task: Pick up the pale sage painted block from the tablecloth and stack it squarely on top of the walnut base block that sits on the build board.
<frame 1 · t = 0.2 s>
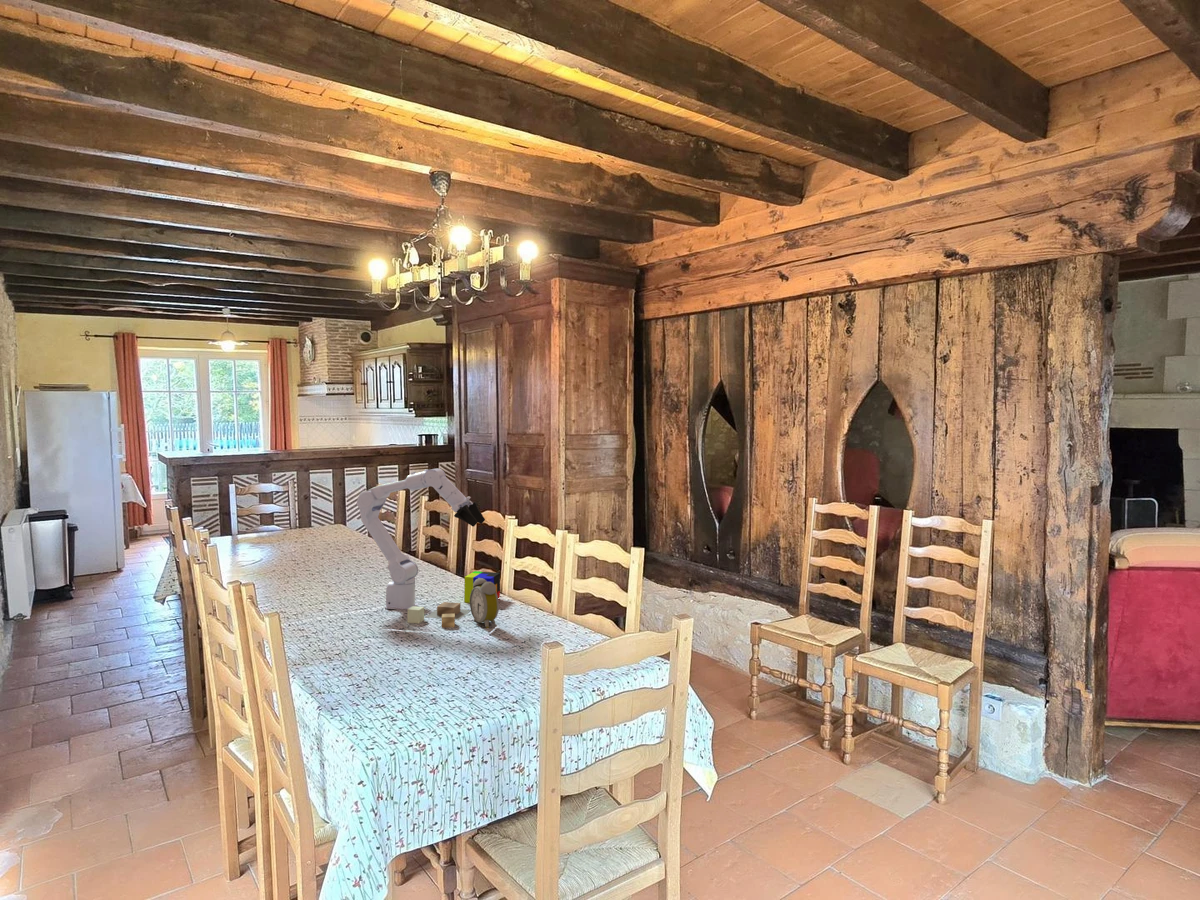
hand: (479, 523, 244), 31 cm above the table, tool tilted 45°, fingers open, 7 cm apart
ochre block: (448, 627, 228), on the table
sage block: (415, 623, 232), on the table
puzzle toy: (482, 602, 260), on the table
alarm clock: (486, 625, 231), on the table
base block: (448, 613, 241), point 1 cm above the table, touching build board
build board: (448, 615, 241), on the table
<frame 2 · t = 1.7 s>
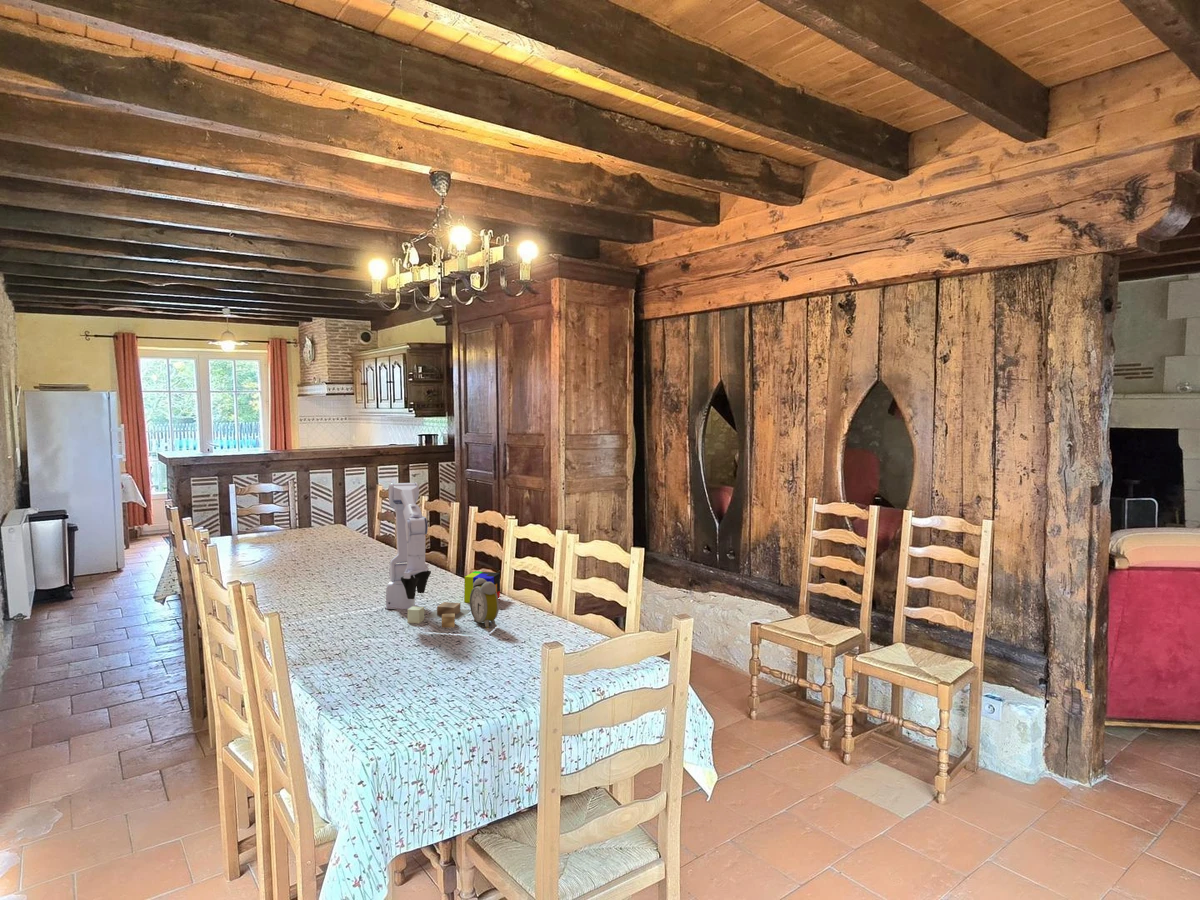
hand: (416, 595, 231), 9 cm above the table, tool pointing down, fingers open, 7 cm apart
nothing on the table moved.
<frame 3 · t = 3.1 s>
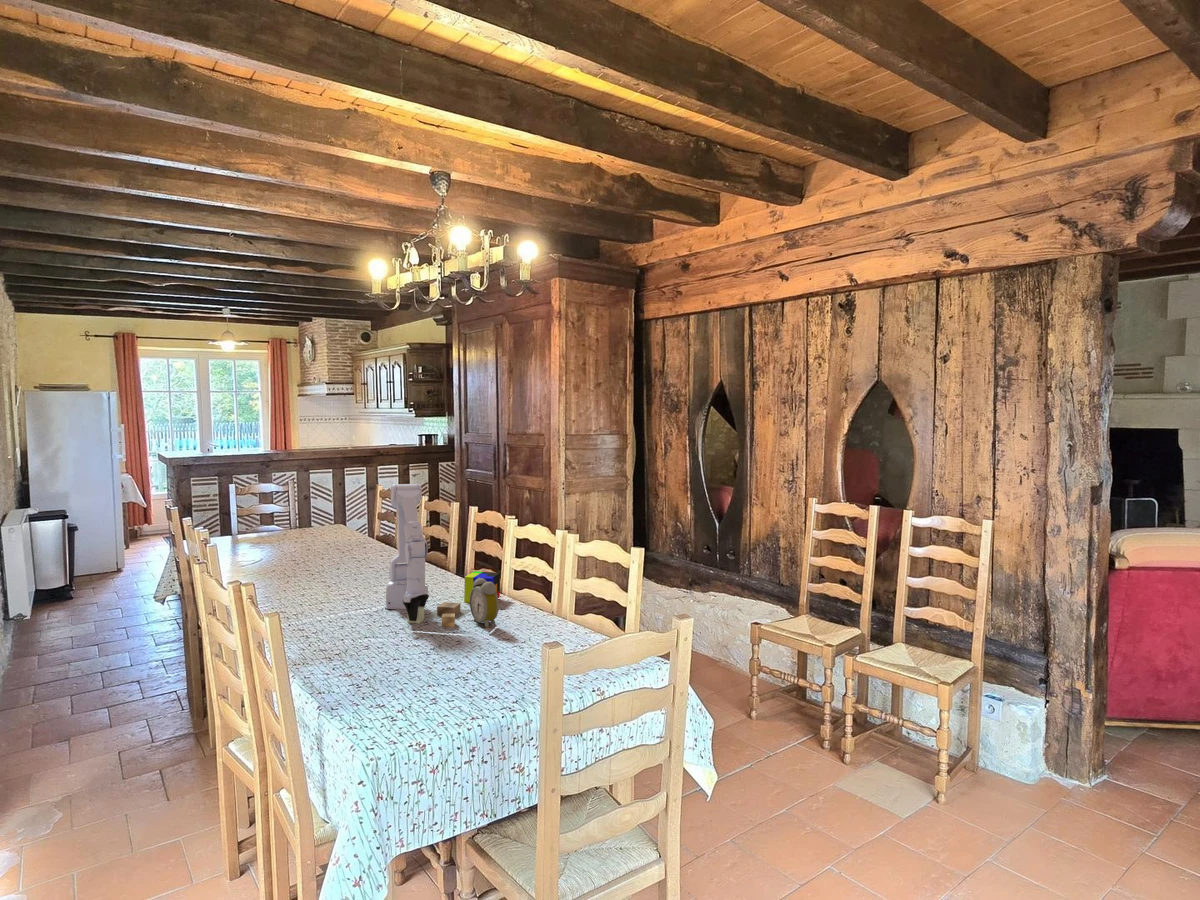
hand: (415, 618, 232), 1 cm above the table, tool pointing down, fingers closed on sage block, 4 cm apart
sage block: (415, 623, 232), on the table, touching gripper
everything else where it was.
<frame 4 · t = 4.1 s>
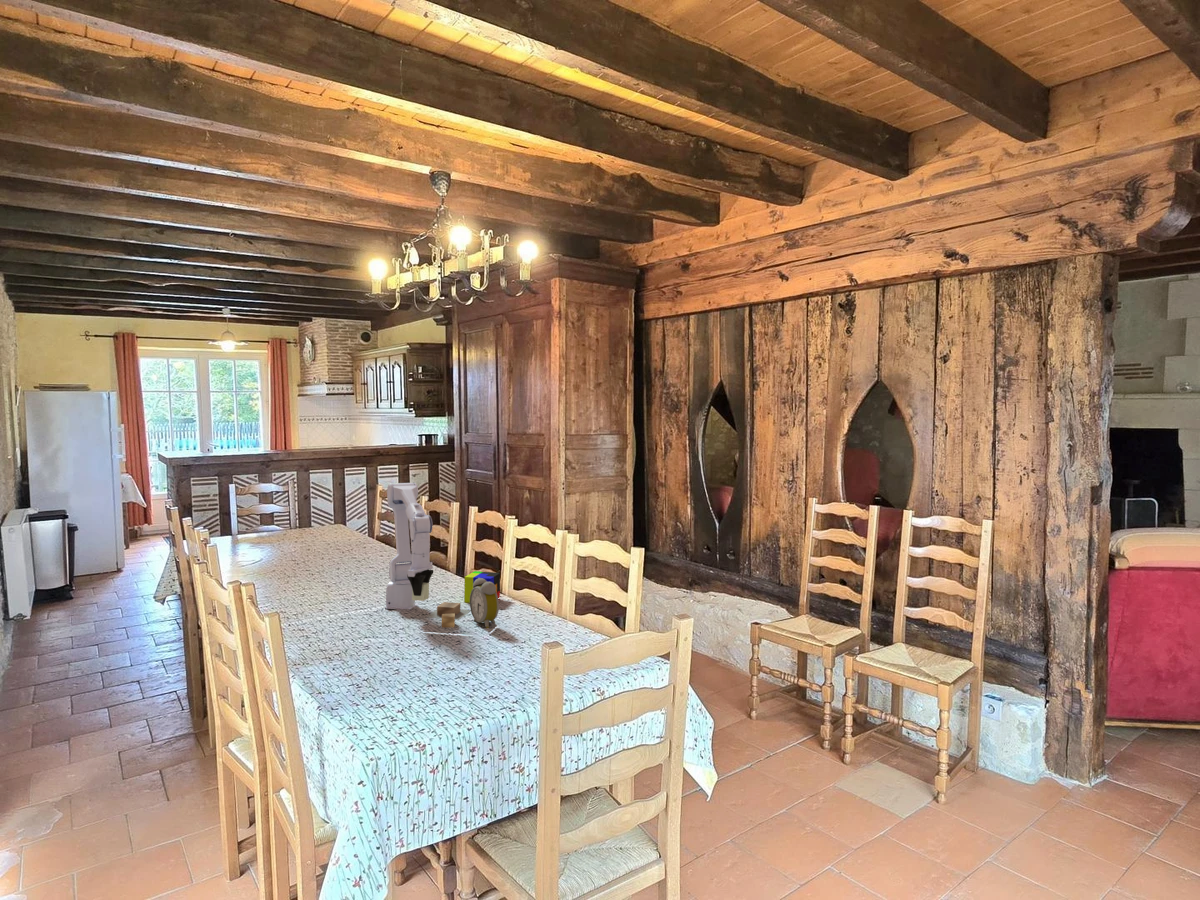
hand: (420, 593, 233), 9 cm above the table, tool pointing down, fingers closed on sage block, 4 cm apart
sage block: (420, 598, 233), point 8 cm above the table, touching gripper
everything else where it was.
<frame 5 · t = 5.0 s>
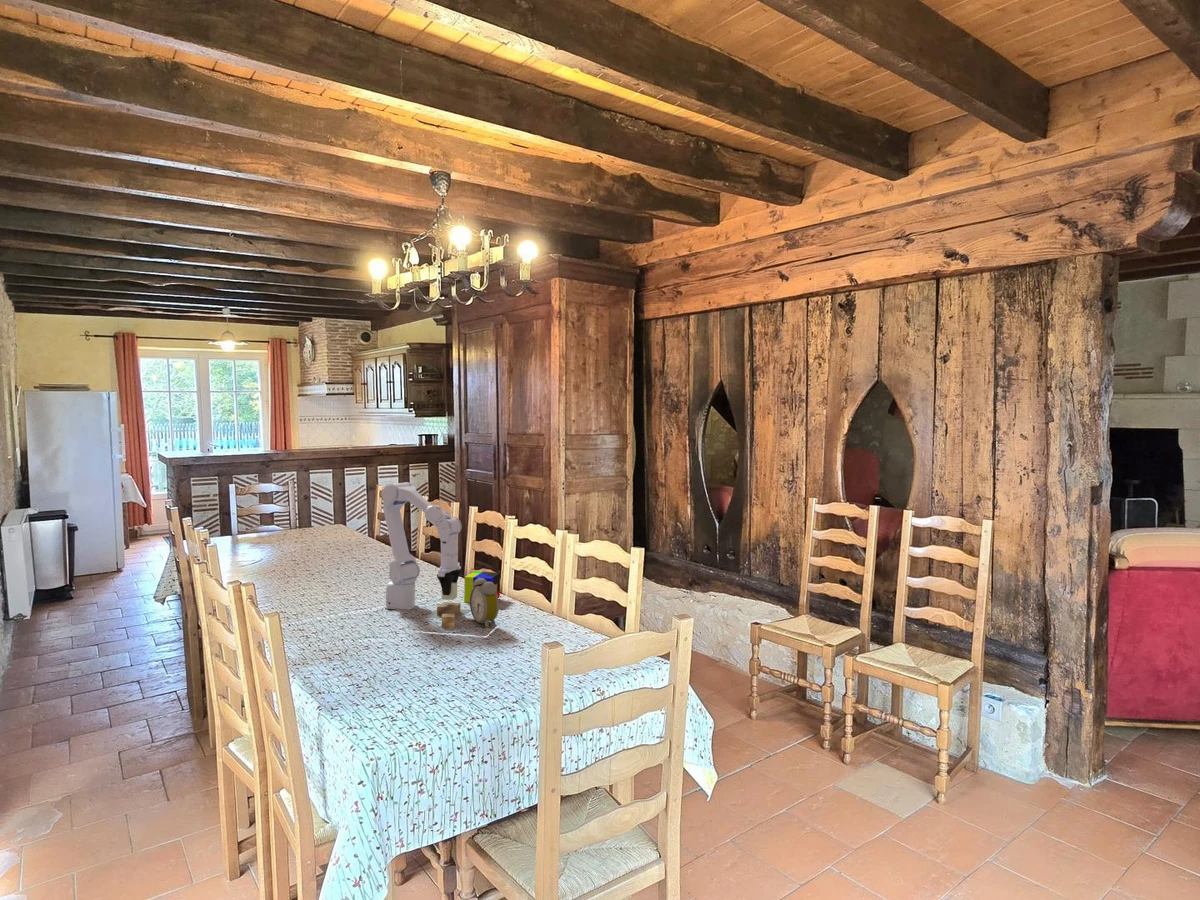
hand: (449, 593, 241), 8 cm above the table, tool pointing down, fingers closed on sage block, 4 cm apart
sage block: (449, 598, 241), point 6 cm above the table, touching gripper
everything else where it was.
when the fingers open (6 cm above the table, at t = 5.6 s): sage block stays where it is, resting on base block.
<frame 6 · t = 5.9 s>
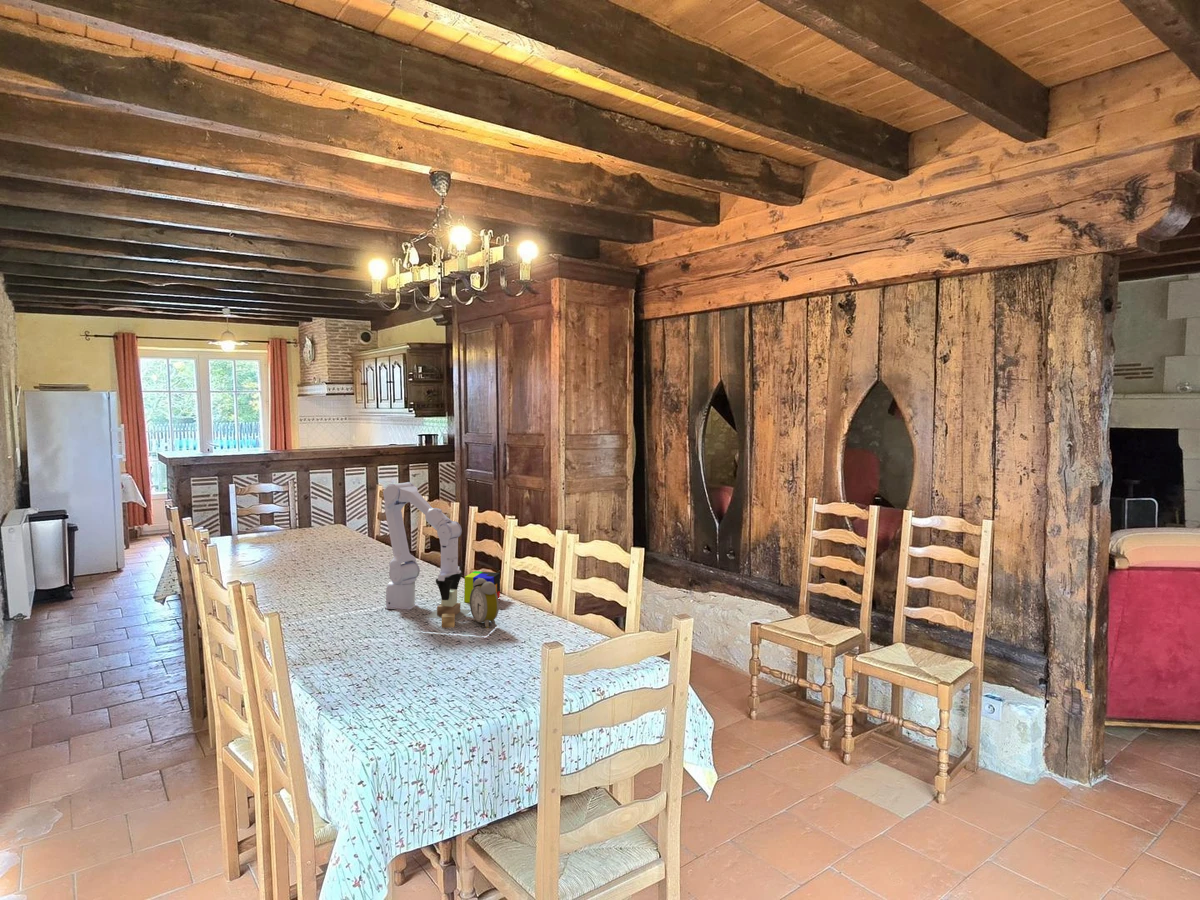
hand: (448, 597, 241), 6 cm above the table, tool pointing down, fingers open, 6 cm apart
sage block: (449, 604, 241), point 4 cm above the table, touching base block
base block: (448, 613, 241), point 1 cm above the table, touching build board, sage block
everything else where it was.
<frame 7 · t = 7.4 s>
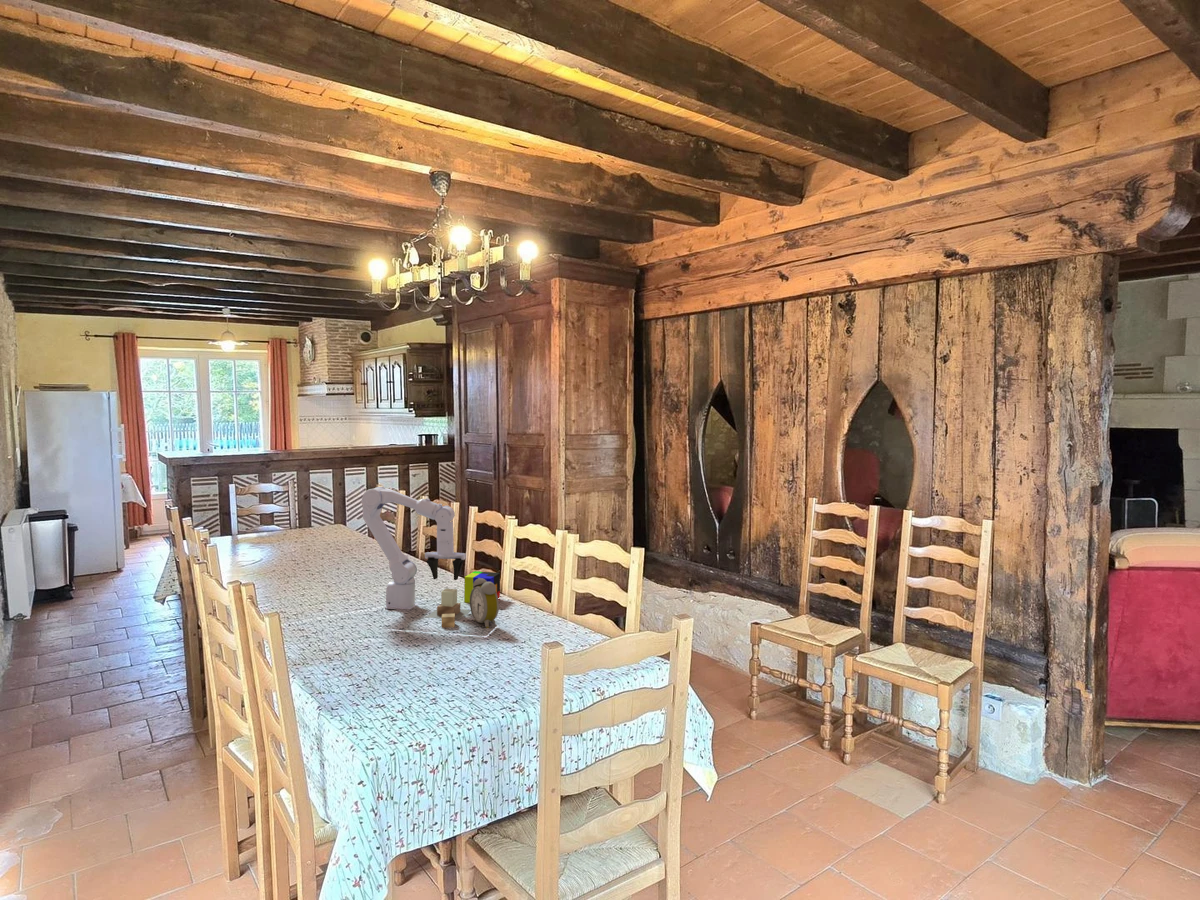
hand: (445, 579, 250), 10 cm above the table, tool pointing down, fingers open, 7 cm apart
nothing on the table moved.
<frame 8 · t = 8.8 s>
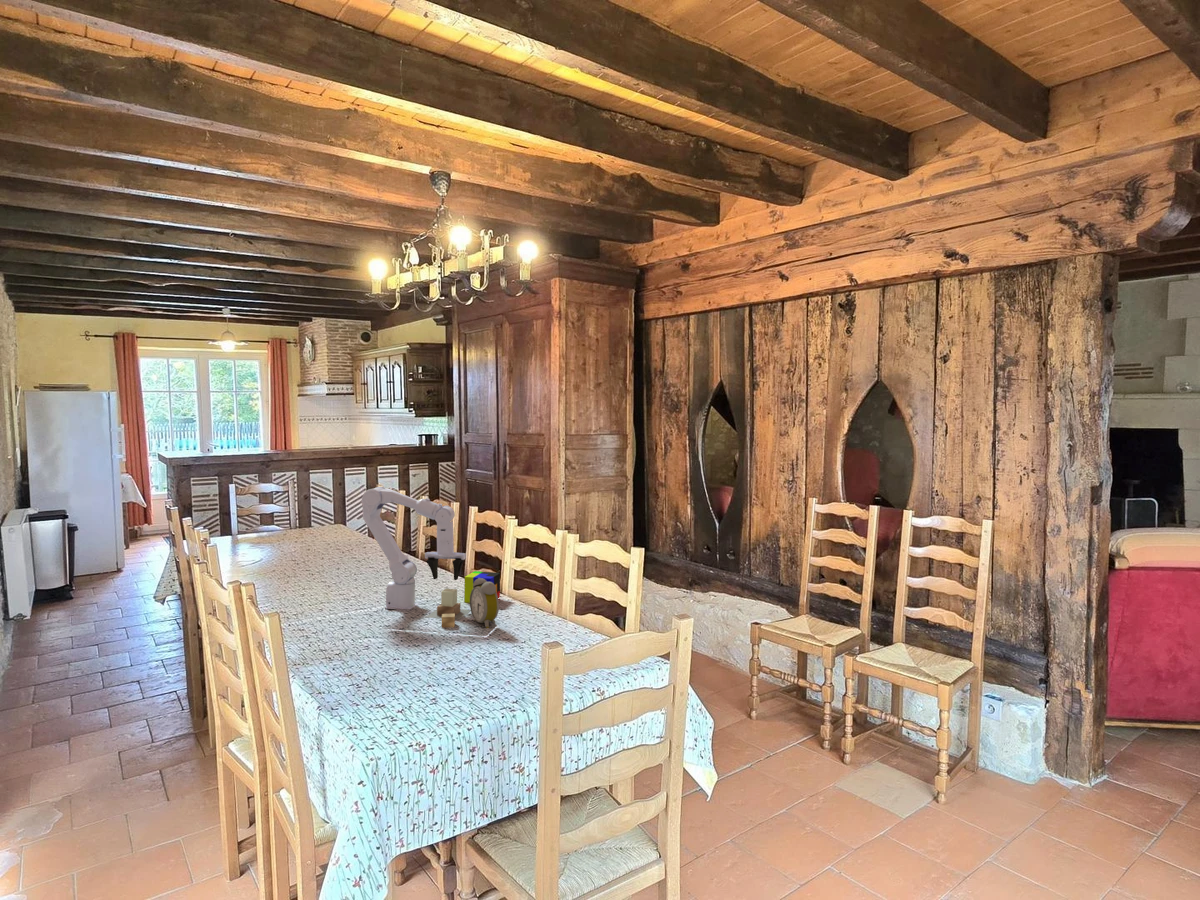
hand: (445, 579, 250), 10 cm above the table, tool pointing down, fingers open, 7 cm apart
nothing on the table moved.
at the end: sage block 0.1 cm off-centre on the base block, point 3.0 cm above the base block's base; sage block tilted 0°; the gripper is holding nothing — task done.
